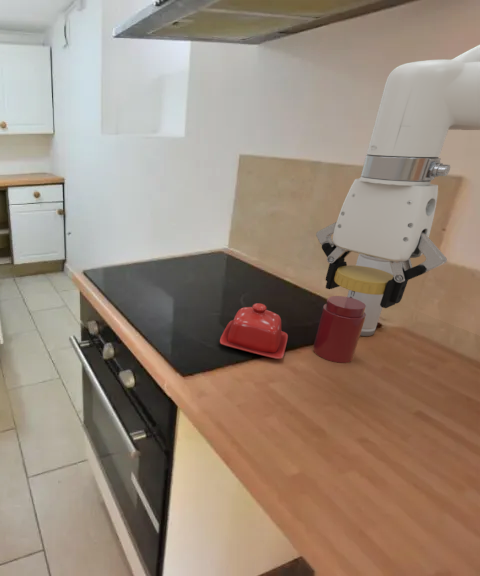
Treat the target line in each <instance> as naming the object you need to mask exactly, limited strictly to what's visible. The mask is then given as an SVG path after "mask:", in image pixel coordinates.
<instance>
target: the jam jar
mask: <svg viewBox="0 0 480 576" xmlns="http://www.w3.org/2000/svg"><path fill="white" fill-rule="evenodd" d="M365 308H366V305H365V304H364V303H363V302H361V301H359V300H356V299H353V298H350V297H347V296H345V295H344V296H343V295H332V296H329V297H328V298H327V299H326V303H325V304H324V305H323V307H322V310H321V314H320V317H319V322H318V326H317V330H316V334H315V339H314V342H313V346H312V351H313V353H314V354H315V355H317V356H318V357H320V358H322V359H324V360H326V361H330V362H333V363H340V364H344V363H345V364H346V363H350V362H352V361H353V360H354V357H355V354H356V350H357V347H358V343H359V340H360V337H361V336H360V334H361V331H362V327H363V324H364V321H365V317H366V313H365V312H364V311H365Z"/></svg>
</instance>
